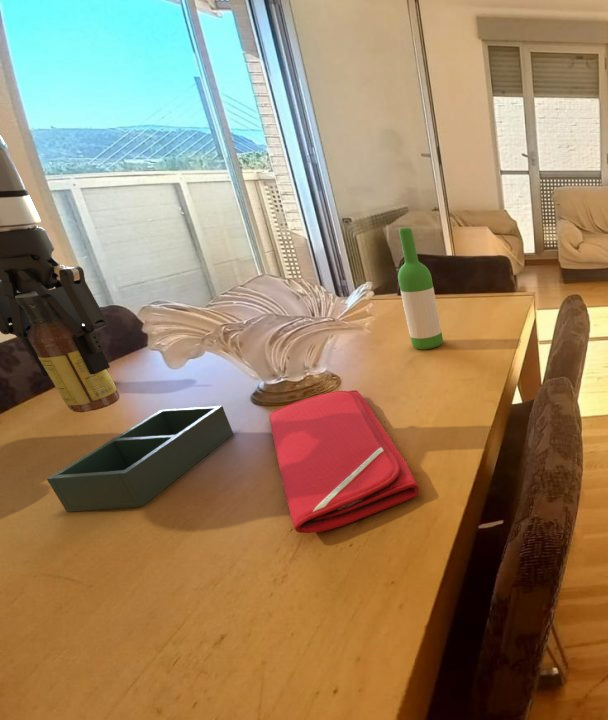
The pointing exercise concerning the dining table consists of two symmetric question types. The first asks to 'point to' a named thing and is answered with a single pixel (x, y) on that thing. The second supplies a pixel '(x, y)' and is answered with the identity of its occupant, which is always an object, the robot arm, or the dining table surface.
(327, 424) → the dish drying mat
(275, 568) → the dining table surface
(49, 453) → the dining table surface
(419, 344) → the wine bottle
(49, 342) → the sauce bottle
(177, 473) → the dark green divided tray
